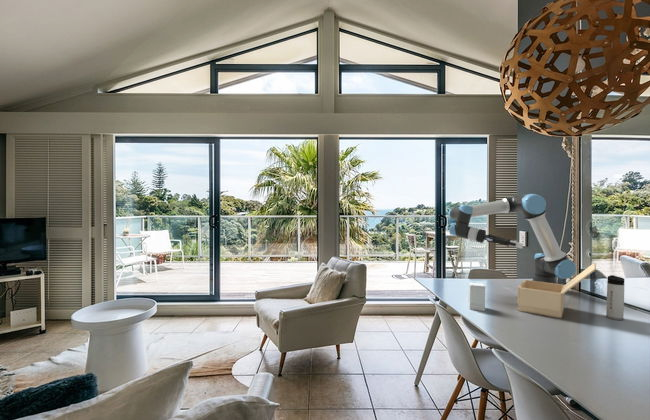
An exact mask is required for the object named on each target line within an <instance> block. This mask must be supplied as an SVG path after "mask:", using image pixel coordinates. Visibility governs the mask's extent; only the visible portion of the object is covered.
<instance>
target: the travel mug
mask: <svg viewBox="0 0 650 420" xmlns="http://www.w3.org/2000/svg"><path fill="white" fill-rule="evenodd" d="M624 310H625V278H623V277H622V276H616V275H607V285H606V316H605V317H606V318H608V319H611V320H614V321H623V320H624V313H625V311H624Z"/></svg>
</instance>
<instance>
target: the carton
mask: <svg viewBox="0 0 650 420" xmlns="http://www.w3.org/2000/svg"><path fill="white" fill-rule="evenodd" d="M565 285H566V284H562V283H561V284H560V283H557V284H554V283H546V282H538V281H532V280H529V279H523V281H522V282H521V283H519V285H518V286H517V303H516V304H517V305H518V312H523V313H529V314H534V315H540V316H544V317H551V318H557V319H563V314H564V311H565V310H564V309H565V294H566V293H564V294H563V293H562V292H563V289H564V286H565Z"/></svg>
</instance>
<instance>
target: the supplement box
mask: <svg viewBox="0 0 650 420" xmlns="http://www.w3.org/2000/svg"><path fill="white" fill-rule="evenodd" d="M468 308H469V310H473V311H483V312H485V311H486V285H485V284H484V283H481V282H468Z"/></svg>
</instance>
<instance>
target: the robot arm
mask: <svg viewBox="0 0 650 420" xmlns="http://www.w3.org/2000/svg"><path fill="white" fill-rule="evenodd" d="M546 207H547V202H546V199H545V198H544V197H543V196H542V195H539V194H536V193H526V194H525V193H524V194H522V193H521V194H516V195H513V196H509V197H504V198H501V200H497V201H490V202H483V203H479V204H472V205H468V204H460V205H459V207H451V208H450V209H449V210H448V212H447V215H448V217H449V219H451V220H452V221H455V222H452V223H450V226H449V228H448V232H449V234H450V235H452V236H454V237H457V238H460V239H461V238H462V239H466V240H469V241H470V242H472V241H473V242H475V241H476V242H477V243H481V244H483V243H484V241H486V242H487V243H493V244H498V245H503V246H506V247H507V248H508V247H509V246H510V247H513V248H517V249H523V247H524V243H522V242H518V241H513V240H511V238H509V239H508V238H504V237H500V236H498V235H497V236H496V235H494V234H491V233H489V234H487V230H485V229H481V228H480V229H479V227H478V228H477V227H473V226H470V221H471V218H475V217H481V216H482V217H483V216H489V215H494V214H500V213H505V214H509V213H511V214H512V213H515V214H522V216H523V218H524V219H525V221H528V223H529V224H530V226H531V228H532V230H533V232H534V234H535V237H536V240H537V241H538V244H539V245H540V247H541V250H542V251H543V253H540V252H539V253H535V255H534V261H533V262H534V263H533V264H534V265H533V267H534V269H533V273H534V276H533V278H532V280H531V281H538V282H546V283H554V284H558V281H557V278H558V279H562V280H567V279H570V278H572V277H573V276H574V275H575V272H576V271H577V265H576V264H575V262H574V261H573V260H571V259H569V258H568V256H567V253H566V252H565V251H562V250H561V247H560V246H559V244H558V241H557V239H556V237H555V235H554V233H553V230H552V228H551V227H550V224H549V222H548V220H547V218H546V213H547V211H546Z"/></svg>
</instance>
